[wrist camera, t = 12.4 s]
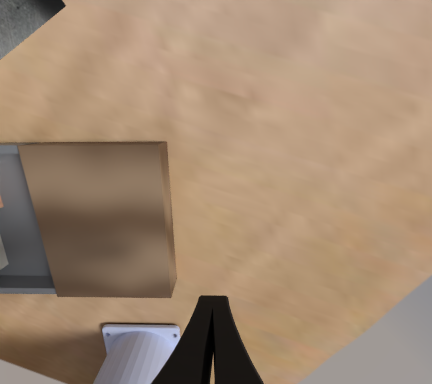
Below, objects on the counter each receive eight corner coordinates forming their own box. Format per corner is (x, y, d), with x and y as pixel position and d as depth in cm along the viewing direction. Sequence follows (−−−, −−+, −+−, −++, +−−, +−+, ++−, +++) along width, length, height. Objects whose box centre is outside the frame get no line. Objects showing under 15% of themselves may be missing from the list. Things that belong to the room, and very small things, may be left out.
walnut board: (176, 278, 22) (171, 298, 19) (75, 277, 22) (57, 296, 20) (166, 141, 18) (158, 144, 16) (44, 142, 18) (17, 145, 16)
